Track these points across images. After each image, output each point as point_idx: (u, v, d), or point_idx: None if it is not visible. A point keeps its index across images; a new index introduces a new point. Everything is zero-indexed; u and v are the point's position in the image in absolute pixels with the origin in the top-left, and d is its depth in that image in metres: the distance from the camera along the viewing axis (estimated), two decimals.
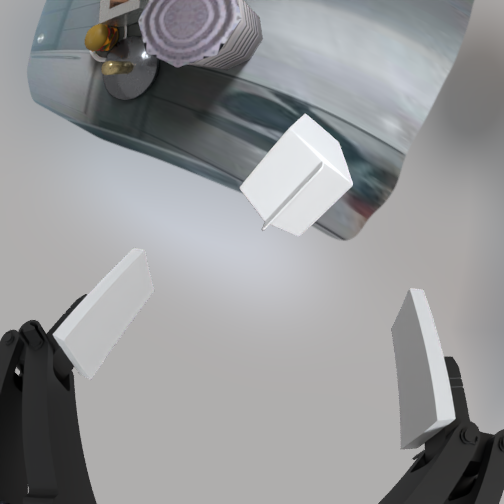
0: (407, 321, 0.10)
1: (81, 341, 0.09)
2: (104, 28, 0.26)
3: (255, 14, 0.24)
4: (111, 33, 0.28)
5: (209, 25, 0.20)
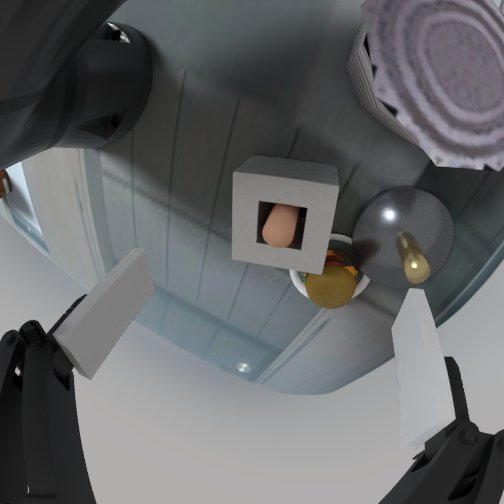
0: (407, 321, 0.10)
1: (81, 341, 0.09)
2: (326, 270, 0.25)
3: None
4: (337, 260, 0.25)
5: (491, 36, 0.06)
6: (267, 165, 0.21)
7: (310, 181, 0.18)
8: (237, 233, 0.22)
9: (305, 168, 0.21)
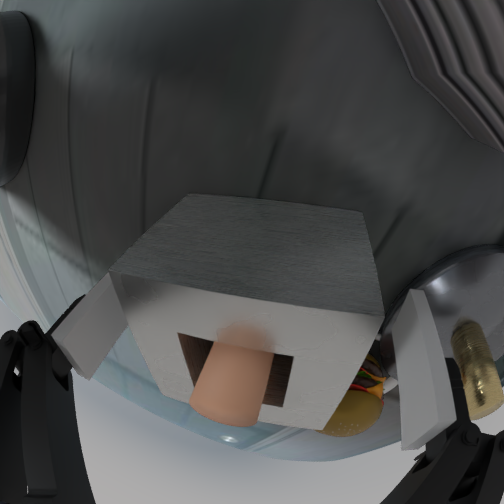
0: (407, 322, 0.10)
1: (79, 341, 0.09)
2: None
3: None
4: (357, 377, 0.13)
5: None
6: (202, 229, 0.09)
7: (302, 306, 0.06)
8: (157, 370, 0.10)
9: (294, 233, 0.09)
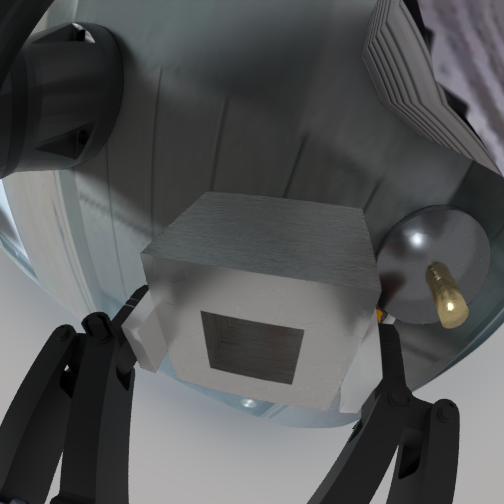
0: None
1: (151, 332, 0.10)
2: None
3: None
4: None
5: None
6: (222, 221, 0.11)
7: (312, 281, 0.08)
8: (176, 351, 0.11)
9: (303, 225, 0.10)
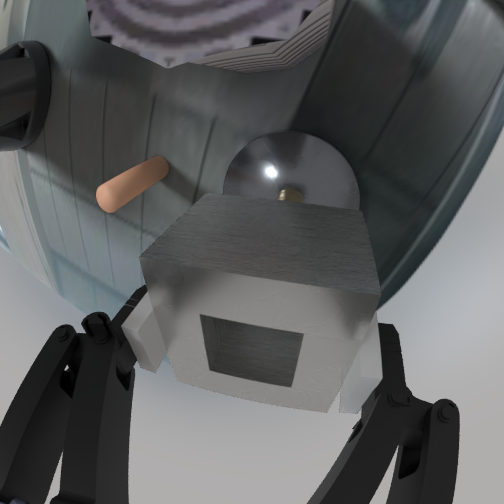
0: None
1: (151, 332, 0.10)
2: None
3: None
4: None
5: None
6: (222, 224, 0.11)
7: (312, 285, 0.08)
8: (175, 354, 0.11)
9: (302, 228, 0.10)
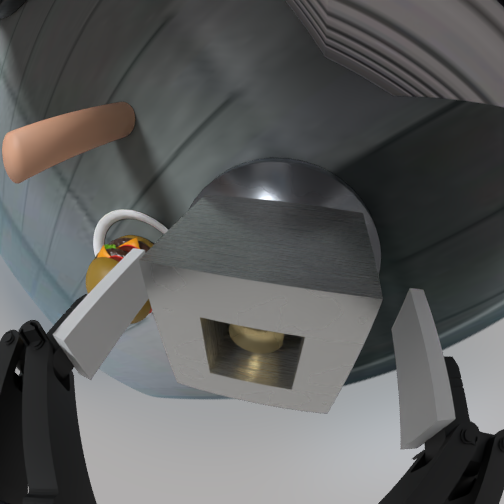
0: (407, 321, 0.10)
1: (81, 341, 0.09)
2: (108, 266, 0.14)
3: None
4: None
5: None
6: (222, 226, 0.11)
7: (313, 290, 0.07)
8: (175, 356, 0.11)
9: (303, 230, 0.10)
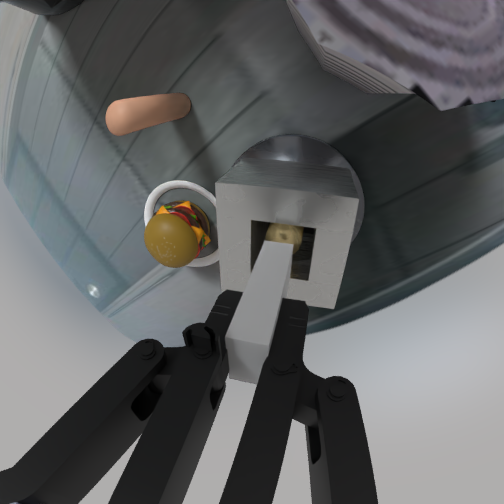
0: None
1: None
2: (169, 218, 0.21)
3: None
4: (189, 215, 0.22)
5: None
6: (261, 170, 0.17)
7: (320, 193, 0.14)
8: (226, 261, 0.17)
9: (311, 173, 0.16)
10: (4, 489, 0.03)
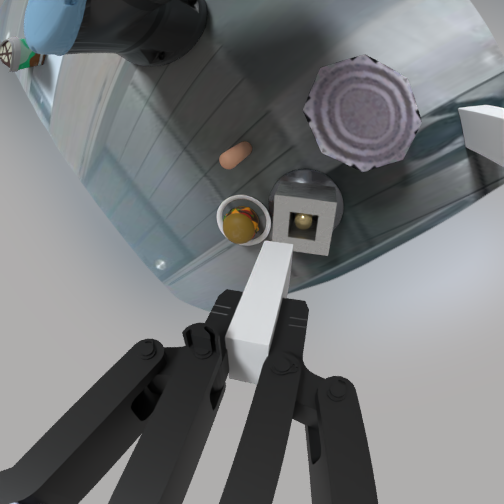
0: None
1: None
2: (241, 216, 0.40)
3: None
4: (250, 215, 0.41)
5: (393, 104, 0.21)
6: (293, 189, 0.35)
7: (320, 200, 0.32)
8: (276, 231, 0.36)
9: (316, 190, 0.35)
10: (4, 489, 0.03)
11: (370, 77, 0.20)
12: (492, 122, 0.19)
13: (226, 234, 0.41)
